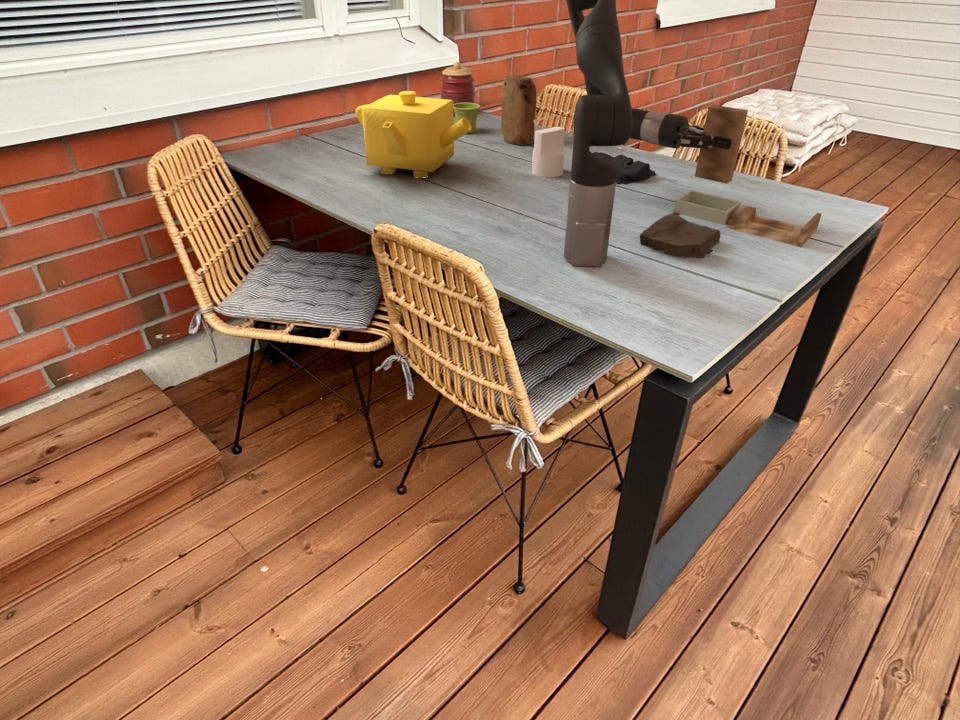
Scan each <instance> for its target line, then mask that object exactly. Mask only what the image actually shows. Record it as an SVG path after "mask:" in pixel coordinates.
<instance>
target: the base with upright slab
mask: <svg viewBox="0 0 960 720" xmlns="http://www.w3.org/2000/svg"><path fill="white" fill-rule="evenodd" d="M565 132H566V129H565V128H564V127H561V126H555V127H554V126H553V127H548V128H543V129H538V130H534V146H533V147H534V148H533V150H532V160H531V161H532V163H531V164H532V165H531V173H532V174H533V175H534V176H536V175H537V177H540V176H541V178H556V177H557V178H558V177H560V176H562V175H563V174H564V165H565V164H564V163H565V162H564V161H565V150H564V146H565V145H564V144H565Z"/></svg>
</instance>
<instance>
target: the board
mask: <svg viewBox="0 0 960 720" xmlns="http://www.w3.org/2000/svg"><path fill="white" fill-rule="evenodd" d="M748 112H749V109H743V108H736V107H729V106H722V105H717V104H713V105H710V106H708V107H707V112H706V118H705V122H704V124H705V127H704V131H705V132H707V134H709V135H714V136H715V137H716V136H717V137H722V138H728V139H731V140H732V143H731V147H730V148H729V149H723V148H718V147H711V148H710V147H707V148H706V149H703V148H699V152H698V158H697V163H696V168H695V172H694V177H695V178H699V179H703V180H708V181H713V182H716V183H717V182H718V183H722V184H725V185H727V184H729V183H731V182H732V181H733V179H734V178H733V177H734V172H735V168H736V165H737V160H738V155H739V152H740V147H741V142H742V138H743V134H744V131H745V130H744V129H745V127H746V121H747V116H748Z"/></svg>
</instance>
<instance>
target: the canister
mask: <svg viewBox="0 0 960 720" xmlns="http://www.w3.org/2000/svg"><path fill="white" fill-rule="evenodd" d="M461 65H462V64H461V63H460V61H455V62H454V63H453V66H449V67H446V68H445V69H444V70H442V71H441V74H442V76H441V77H440V78H439V82H441V83H440V84H441V85H440V88H439V90H440V99H447V100H453V104H456V103H475V90H476V88H475V86H474V82H475V80H476V78H475V77H474V76H473V73H474V72H473V70H472V69H470V68H468V67H466V66H461ZM453 117H455V112H454V108H453Z"/></svg>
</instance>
